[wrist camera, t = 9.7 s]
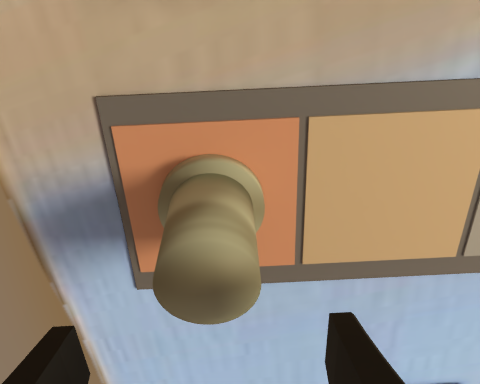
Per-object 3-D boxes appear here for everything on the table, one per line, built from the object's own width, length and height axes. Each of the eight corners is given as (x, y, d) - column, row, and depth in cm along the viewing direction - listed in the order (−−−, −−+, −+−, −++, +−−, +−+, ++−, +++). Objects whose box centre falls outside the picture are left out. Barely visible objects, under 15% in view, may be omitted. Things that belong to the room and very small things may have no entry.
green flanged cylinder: (263, 239, 20) (275, 330, 15) (167, 244, 20) (148, 337, 15) (262, 151, 17) (276, 225, 13) (153, 156, 17) (126, 233, 13)
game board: (611, 264, 21) (614, 267, 21) (137, 288, 21) (136, 291, 21) (713, 67, 16) (718, 68, 16) (96, 96, 16) (94, 97, 16)
